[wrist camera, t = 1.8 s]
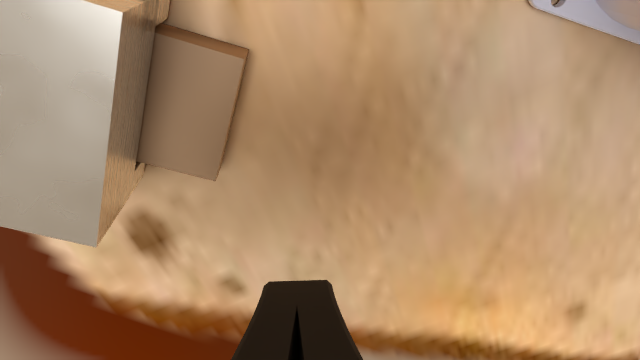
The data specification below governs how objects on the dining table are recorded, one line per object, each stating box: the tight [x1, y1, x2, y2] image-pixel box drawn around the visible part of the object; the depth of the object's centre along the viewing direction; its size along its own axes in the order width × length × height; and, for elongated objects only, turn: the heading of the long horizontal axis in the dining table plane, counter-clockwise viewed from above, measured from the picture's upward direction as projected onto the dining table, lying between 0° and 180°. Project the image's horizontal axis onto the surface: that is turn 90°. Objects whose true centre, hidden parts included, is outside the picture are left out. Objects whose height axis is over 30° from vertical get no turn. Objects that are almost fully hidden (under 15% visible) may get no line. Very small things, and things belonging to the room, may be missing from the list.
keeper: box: [0, 0, 170, 247], centre depth 16 cm, size 4×8×5 cm, turn 163°
